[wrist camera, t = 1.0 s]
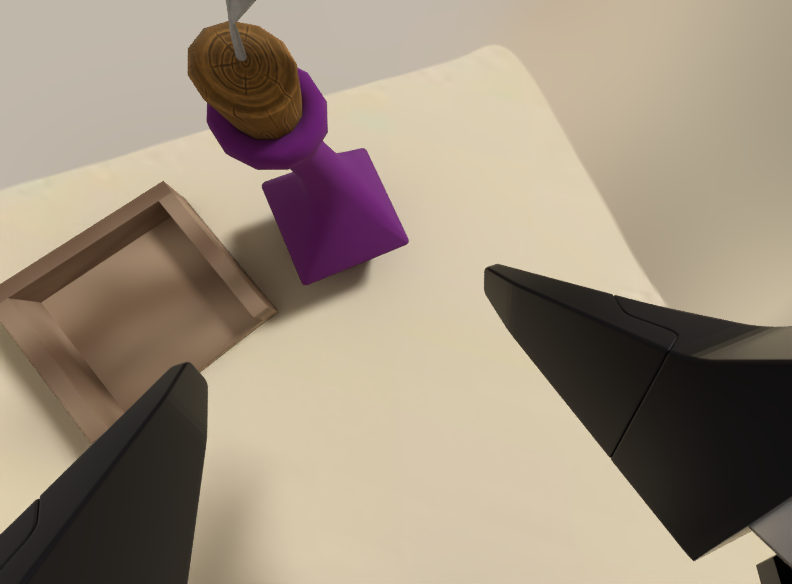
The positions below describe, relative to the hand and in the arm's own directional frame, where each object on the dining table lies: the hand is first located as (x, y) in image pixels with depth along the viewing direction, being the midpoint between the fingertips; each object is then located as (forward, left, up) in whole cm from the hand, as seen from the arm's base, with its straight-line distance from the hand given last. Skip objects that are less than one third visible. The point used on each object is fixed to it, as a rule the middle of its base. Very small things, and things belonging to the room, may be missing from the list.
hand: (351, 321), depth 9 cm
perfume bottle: (+3, -8, -14) cm, 16 cm away
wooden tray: (+14, 0, -13) cm, 19 cm away
